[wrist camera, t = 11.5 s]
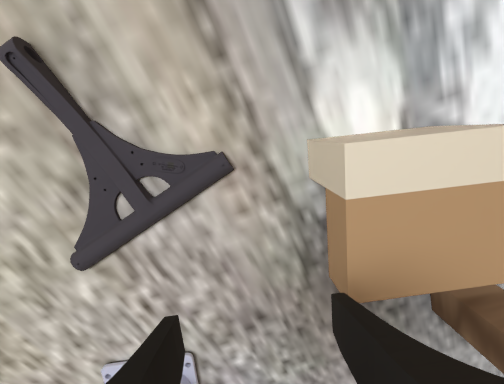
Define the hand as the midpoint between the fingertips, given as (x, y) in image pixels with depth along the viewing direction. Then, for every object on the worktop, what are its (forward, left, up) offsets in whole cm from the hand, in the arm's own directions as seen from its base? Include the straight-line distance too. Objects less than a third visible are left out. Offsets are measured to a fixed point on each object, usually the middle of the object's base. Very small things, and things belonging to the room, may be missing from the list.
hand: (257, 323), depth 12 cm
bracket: (+9, +10, -11) cm, 17 cm away
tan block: (+3, -11, -10) cm, 15 cm away
